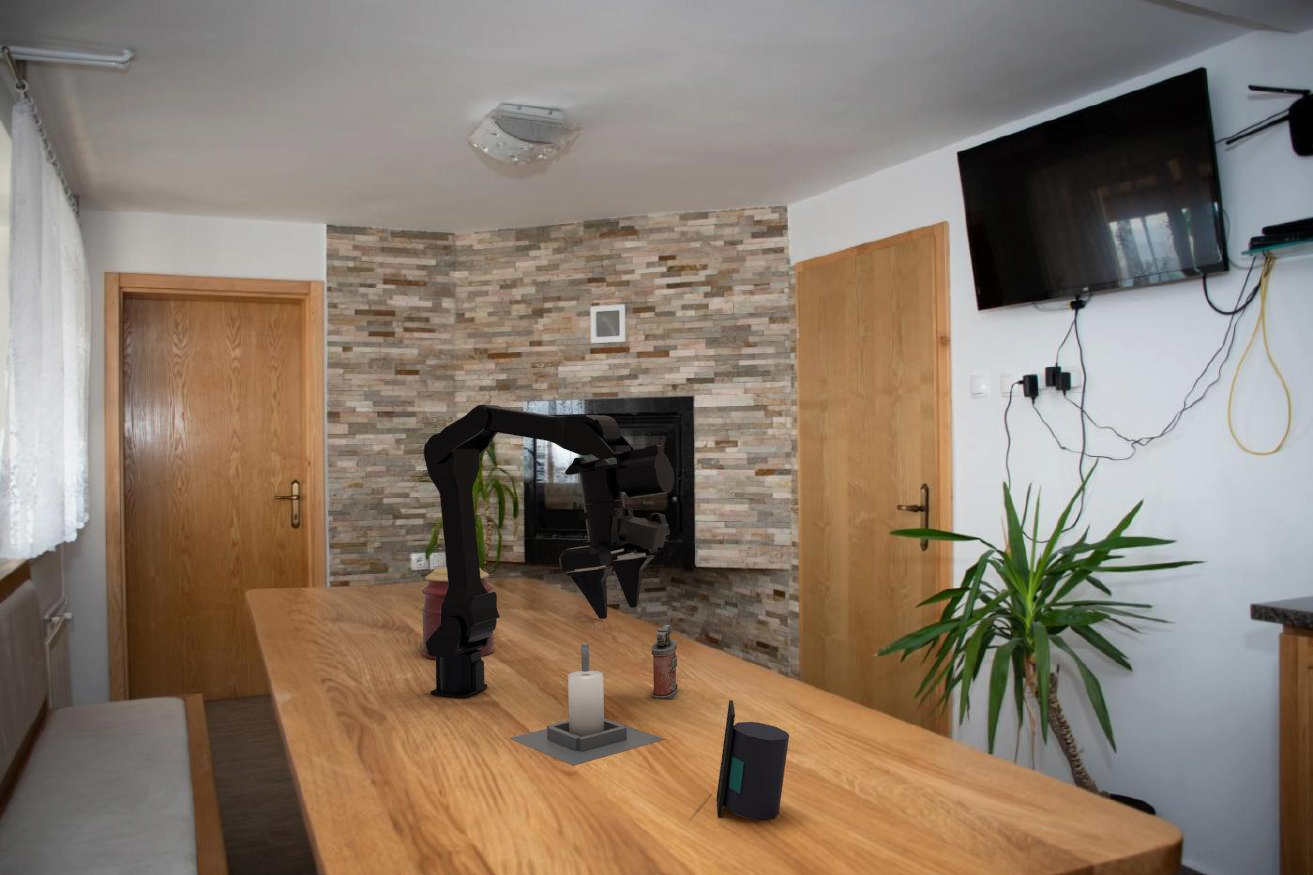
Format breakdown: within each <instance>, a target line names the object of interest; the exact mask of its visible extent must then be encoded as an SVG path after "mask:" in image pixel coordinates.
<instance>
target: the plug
mask: <svg viewBox="0 0 1313 875" xmlns="http://www.w3.org/2000/svg"><path fill="white" fill-rule="evenodd" d="M580 650H581V651H580V653H581V654H580V656H581V657H580V659H581V660H580V661H581V663H580V664H581V670H577V671H573V672H570V673H568V675H567V678H568V679H567V681H568V682H567V684H568V686H567V688H568V689H567V690H568V691H567V692H568V696H567V697H568V720H569V733H572V734H574V735H577V736H579V737H583V736H587V735H591V734H595V733H599V732H602V731H604V718H605V706H604V705H605V702H604V701H605V699H604V695H605V694H604V673H603V672H602V671H598V670H590V668H591V667H590V645H589V643H587V642H582V644H581V647H580Z"/></svg>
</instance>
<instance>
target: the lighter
mask: <svg viewBox="0 0 1313 875" xmlns="http://www.w3.org/2000/svg"><path fill="white" fill-rule="evenodd" d="M671 635H672V626H671V625H670V624H665V625H663V626H662V627H658V628H657V633H656V642H654V643H653V645H652V646H651V655H652V661H653V662H652V663H653V664H652V669H653V670H652V672H653V674H652V675H653V691H652V699H654V700H665V701H666V700H667V701H672V700H674V699H675V698H676V697H677V695H678V683H677V667H678V656H677V655H676V651H677V650H678V649H677V648H678V647H677V646H678V644H677V643H678V642H677V640H676V639H671Z"/></svg>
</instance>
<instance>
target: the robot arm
mask: <svg viewBox="0 0 1313 875" xmlns="http://www.w3.org/2000/svg"><path fill="white" fill-rule="evenodd" d="M498 433H499V434H505V435H510V436H515V437H516V436H517V437H523V438H529V439H534V440H540V441H547V442H550V443H553V444H555V445H556V446H558V447H560V448H561V449H563V450H566V451H568V452H571V453H574V454H577V455H579V456H580V457H574V458H573V460H572V462H571V464H570V465H569V466H568V467H567V469H565V472H564V473H565V475H566V476H574V475H579V480H580V481H579V482H580V488H581V494H582V495H581V496H582V501H583V510H584V512H581V513H580V512H579V514H578V515H579V516H578V517H579V521H585V525H586V532H587V539H588V540H587V541H583V542H582V545H583V546H576V547H572V548H566V549H563V550H562V552H561V553H560V555H559V557H558V560H559V567H560V571H561V572H566V571H568V572H566V575H567V577H570V578H571V579H572V581H573V582H574V583H575V585H576V586H577V587H578V589H579V590H580V591H581V593H582V594H583V596H584V598H585V599H586V600H587V602H588V604H589V605H590V606H591V608H592V610H593V611H594V613H595V614H596V616H597V618H598V619H599V620H604V619H607V618H608V591H607V589H608V588H607V579H608V577H609V576H610V574H611V572H612V570H613V571H614V573H615V575H616V578H617V580H618V582H619V585H620V587H621V589H622V592H623V595H624V598H625V600H626V602H627V604H628V606H629V608H630V609H634V608H635V609H636V608H637V607H638V606H639V599H640V592H641V585H642V578H643V574H644V569H645V568H646V566H647V565H648V564H649V563H650V561H651V560H653V559H654V557H655V555H654V553H658V552H659V550H658V548H661V549H662V548H664V544H665V539H666V536H669V535H670V534H671V530H670V529H669V523H668V521H667V518H666V515H665V514H664V513H663V514H662V513H659V512H654V513H653V512H652V513H650V514H649V516H648V517H647V518H646V517H641V518H640V517H636V516H634V511H633V508H632V507H631V505H628V506H625V501H624V494H623V493H625V495H626V496H627V497H628V498H630V499H635V498H636V499H637V498H642V497H643V498H644V497H649V496H657V495H664V494H669V493H671V492H672V490H673V487H674V483H675V473H674V472H675V471H674V467H673V466H672V464H671V462H670V459H669V457H668V456H667V455H666V454H665V452H664V446H663V445H662V444H652V445H648V446H645V447H643V448H639V449H636V448H635V447H634V446H633V445H632V444H631V443H630V442H629V441H628V440H627V438H626V437H625V436H624V435H623V433H621V429H620V426H619V425H618V422H616V419H614V418H613V417H612V416H608V415H597V414H575V415H574V414H573V415H570V414H569V415H561V416H559V415H558V416H557V415H551V414H544V413H537V412H531V411H525V410H519V409H513V408H506V407H502V406H500V405H496V404H478V405H476V406H475V407H473V408H471V410H470V411H468V412H467V413H466V414H465V415H464V416H462V417H460V418H458V419H457V420H455V421H454V422H452V423H450V424H448V425H447V426H446V427H444V428H443V429H442V430H441V431H440V432H437V433H434V434H432V435H431V436H430V437H429V439H427V441H426V443H424V446H423V458H424V462H425V466H426V470H427V474H428V476H429V479H430V480H431V482H432V483H433V485H434V487H435V489H436V490H437V491H438V493H439V501H440V512H441V520H442V521H441V522H442V532H443V543H444V552H445V554H444V555H445V561H446V562H445V564H446V567H447V576H448V589H447V592H446V594H445V597H444V600H443V602H442V605H441V617H440V626H439V627H438V628H437V630H436V631H435V632H434V633H433V634H432V635H431V637H430V638H429V639H428V640H427V641H426V647H427V650H428V653H429V655H430V656H436V659H435V688H434V689H432V690H430V692H429V694H430V696H442V697H452V698H453V697H456V698H469V697H471V696H473V695H475V694H477V693H480V692H481V691H483V690H485V689H488V684H487V683H485V660H483V659H482V657H483V656H481V650H477V649H479V648H482V647H487V645H488V641H489V638H490V635H491V634H492V632H493V633H494V631H495V630H496V628H497V619H500V617H501V616H500V613H499V611H498V606H497V605H498V604H497V603H498V602H497V601H498V596H497V592H496V591H491V593H488V592H487V590H486V589H485V587H484V586H483V584H482V582H481V577H480V568H481V567H480V559H479V557H480V556H479V549H478V548H479V547H478V537H477V527H476V517H475V507H474V506H475V505H474V496H473V487H474V485H475V483H476V480H477V477H478V475H479V471H480V456H481V454H482V453H484V452H486V450H487V449H488V448H489V447H490V446H491V445H492V443H493V442H494V439H495V437H496V435H497V434H498ZM581 456H594V457H595V458H597V459H592V460H586V459H585V458H584V457H581ZM607 460H616V463H612V464H610V463H609V462H608V461H607ZM646 554H647V555H646ZM649 554H650V555H649ZM652 554H653V555H652ZM612 558H614V560H612ZM615 558H617V559H615ZM610 564H611V566H608V565H610Z"/></svg>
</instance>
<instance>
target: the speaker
mask: <svg viewBox="0 0 1313 875" xmlns="http://www.w3.org/2000/svg"><path fill="white" fill-rule="evenodd" d="M735 718H736V712H735V705H734V700H731V699H729V700H728V708H727V715H726V722H725V730H724V738H723V746H722V753H721V758H720V759H721V760H720V769H719V776H718V785H717V790H716V791H717V792H716V809H717V811H716V812H717V818H722V817H723V812H724V811H723V810H724V809H726V810H727V811H730V812H731V813H732V814H734V815H737V816H739V817H743V818H747V819H751V820H758V821H765V820H772V819H776V817H777V816H778V815H779V814H780V808H781V807H780V806H781V798H782V794H783V793H782V792H783V785H784V778H785V772H786V771H785V769H786V762H787V754H788V748H789V741H790V740H789V739H790V734H789V732H787V731H786V730H783V729H782V728H780V727H777V726H774V725H770V724H766V723H763V722H757V721H756V722H755V721H743V722H740V721H739V722H736V723H735ZM723 808H724V809H723Z"/></svg>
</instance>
